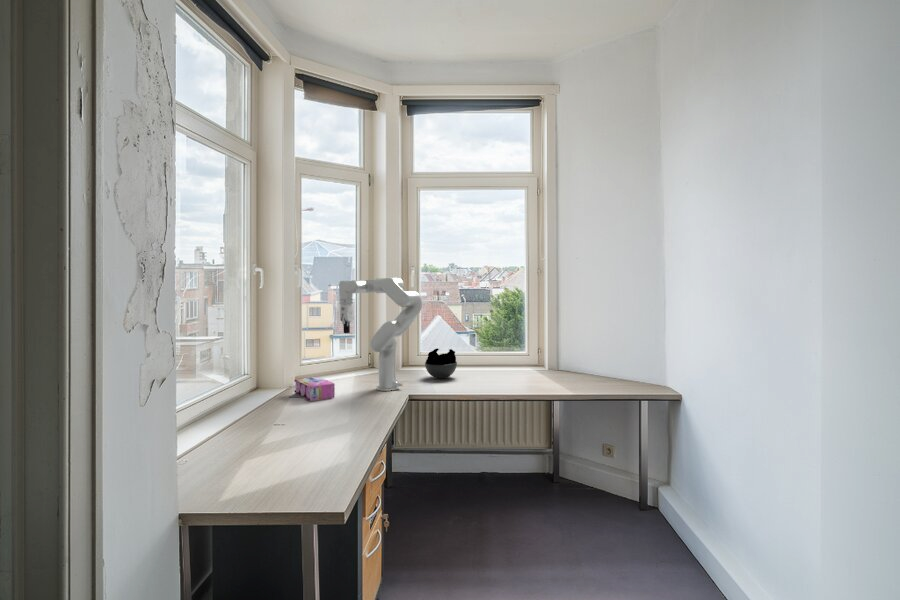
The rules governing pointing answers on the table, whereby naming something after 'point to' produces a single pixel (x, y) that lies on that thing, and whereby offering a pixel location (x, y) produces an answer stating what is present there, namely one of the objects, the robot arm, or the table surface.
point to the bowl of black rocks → (441, 364)
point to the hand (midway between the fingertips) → (346, 332)
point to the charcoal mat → (295, 396)
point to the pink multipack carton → (315, 388)
